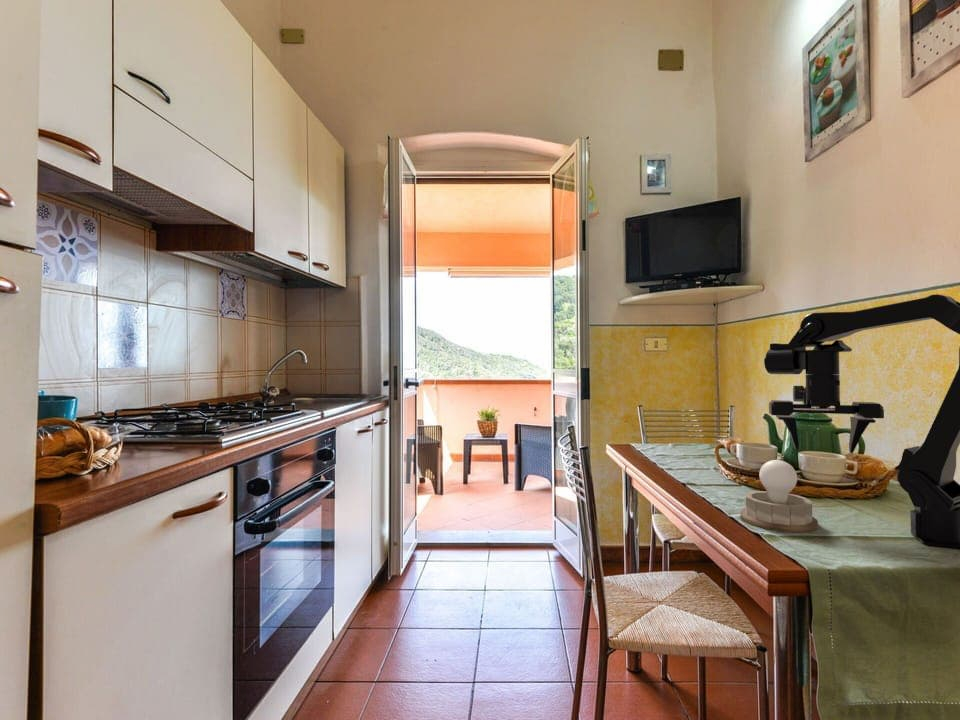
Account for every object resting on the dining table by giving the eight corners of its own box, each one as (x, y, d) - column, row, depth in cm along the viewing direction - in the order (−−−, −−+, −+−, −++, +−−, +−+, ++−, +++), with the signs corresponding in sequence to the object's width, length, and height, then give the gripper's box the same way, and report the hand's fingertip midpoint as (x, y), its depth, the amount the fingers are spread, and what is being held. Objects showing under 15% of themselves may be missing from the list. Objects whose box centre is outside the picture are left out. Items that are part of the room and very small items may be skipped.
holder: (811, 516, 101) (811, 493, 101) (824, 536, 89) (823, 510, 89) (739, 508, 106) (738, 487, 106) (742, 526, 95) (741, 503, 95)
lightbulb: (754, 515, 98) (753, 460, 98) (766, 508, 102) (766, 455, 102) (790, 523, 93) (790, 465, 93) (802, 516, 97) (801, 460, 97)
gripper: (867, 374, 105) (869, 448, 105) (765, 374, 113) (767, 443, 113) (884, 375, 95) (885, 457, 95) (771, 375, 103) (772, 450, 103)
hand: (823, 451), depth 101 cm, fingers open, 9 cm apart
